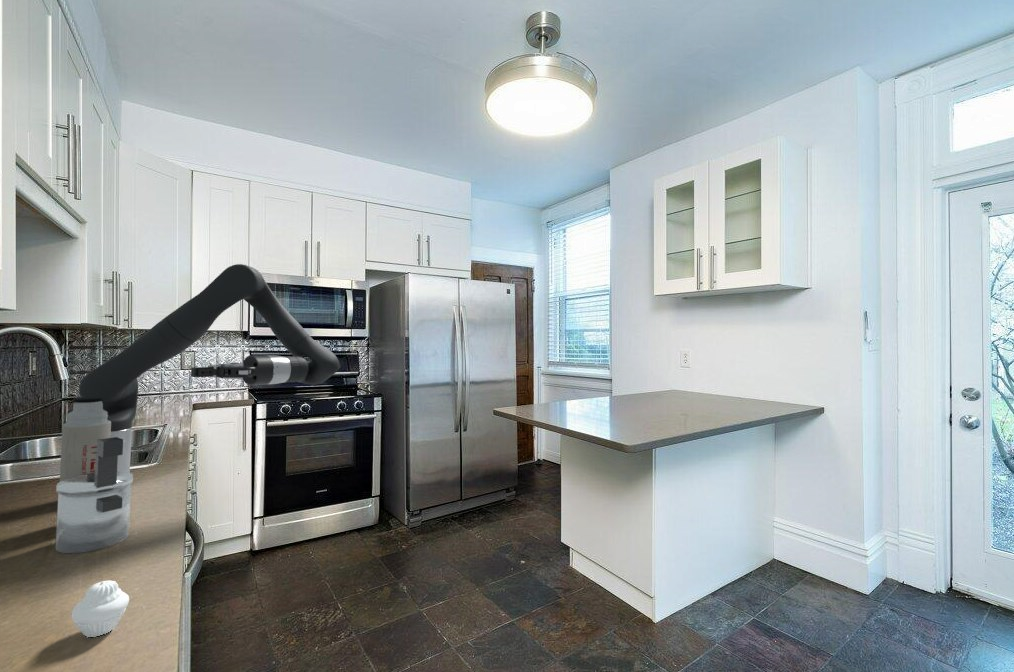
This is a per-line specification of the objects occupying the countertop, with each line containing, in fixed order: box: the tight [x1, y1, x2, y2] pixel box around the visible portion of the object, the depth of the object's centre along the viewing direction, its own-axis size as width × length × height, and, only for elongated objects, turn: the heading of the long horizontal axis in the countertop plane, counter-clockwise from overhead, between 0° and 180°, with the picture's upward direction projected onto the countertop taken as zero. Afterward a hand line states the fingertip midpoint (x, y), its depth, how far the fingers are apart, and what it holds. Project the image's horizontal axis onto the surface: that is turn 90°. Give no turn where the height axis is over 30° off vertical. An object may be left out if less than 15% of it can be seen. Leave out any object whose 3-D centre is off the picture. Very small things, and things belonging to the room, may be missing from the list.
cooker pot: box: [55, 483, 132, 554], centre depth 92 cm, size 14×11×11 cm
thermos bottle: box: [59, 396, 111, 482], centre depth 101 cm, size 8×8×28 cm
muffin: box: [71, 580, 130, 638], centre depth 65 cm, size 6×6×7 cm
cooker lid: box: [55, 437, 134, 495], centre depth 93 cm, size 14×12×10 cm
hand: (192, 372), depth 104 cm, fingers closed
